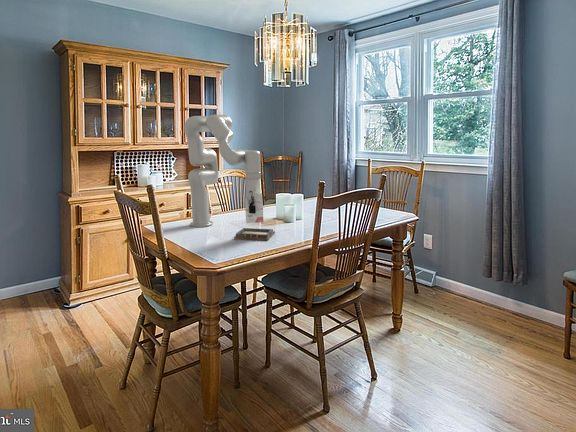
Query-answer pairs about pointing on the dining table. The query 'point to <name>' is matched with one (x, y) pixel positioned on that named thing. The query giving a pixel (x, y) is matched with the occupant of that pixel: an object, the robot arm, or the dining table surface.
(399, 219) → the dining table surface
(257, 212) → the ink cartridge box
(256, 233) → the dock
